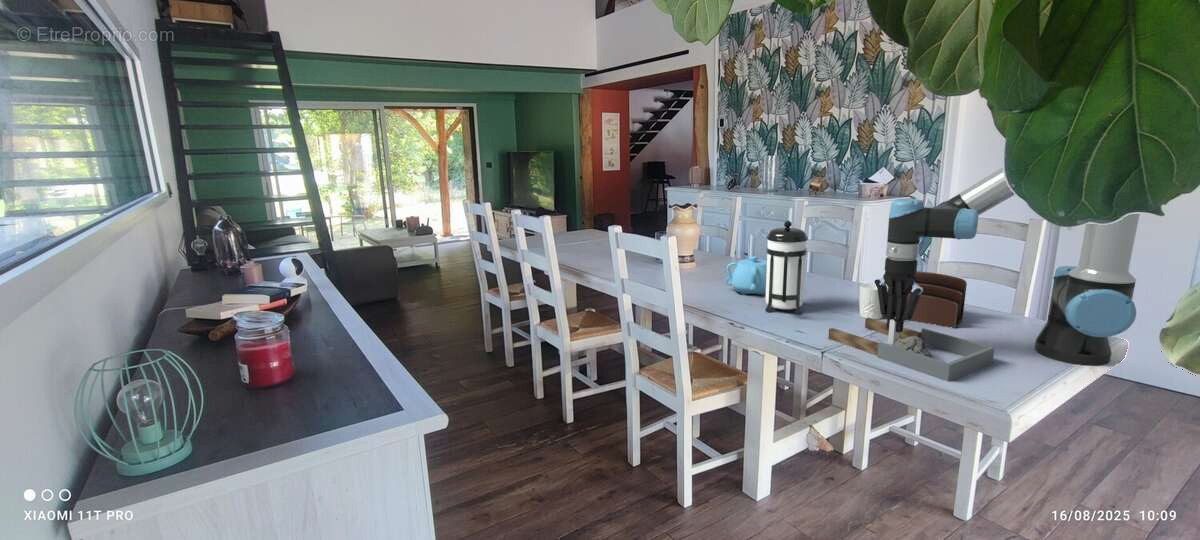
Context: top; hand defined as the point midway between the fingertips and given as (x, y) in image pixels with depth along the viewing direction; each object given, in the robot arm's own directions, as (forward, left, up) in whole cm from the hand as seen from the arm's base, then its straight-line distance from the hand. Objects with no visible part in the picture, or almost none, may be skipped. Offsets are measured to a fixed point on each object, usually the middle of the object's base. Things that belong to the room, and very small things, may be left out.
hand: (893, 342), depth 154 cm
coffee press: (+40, -2, -2) cm, 40 cm away
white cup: (+20, -19, -2) cm, 27 cm away
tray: (-11, 0, -1) cm, 11 cm away
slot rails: (+6, 0, -1) cm, 6 cm away
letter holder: (+10, -30, -2) cm, 32 cm away
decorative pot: (+63, -10, -2) cm, 64 cm away
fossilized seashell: (-6, +3, -2) cm, 7 cm away
